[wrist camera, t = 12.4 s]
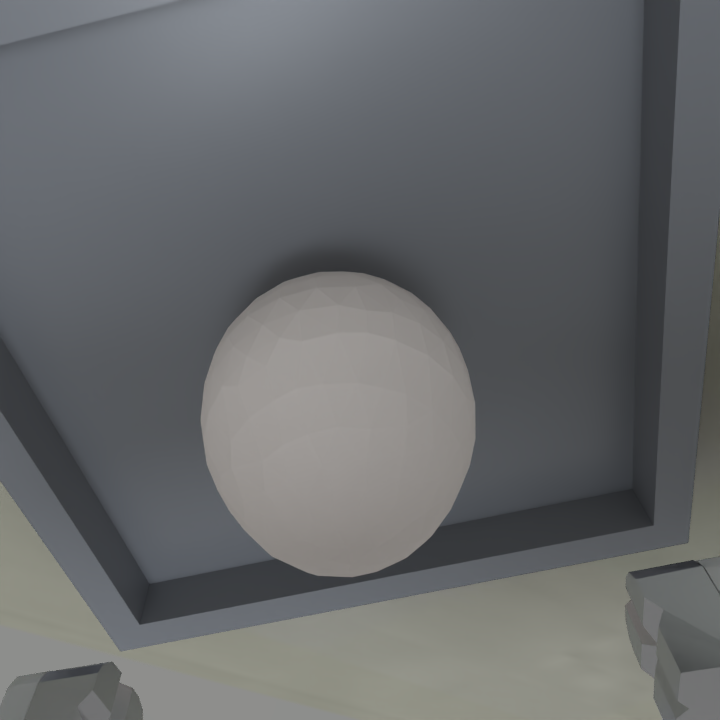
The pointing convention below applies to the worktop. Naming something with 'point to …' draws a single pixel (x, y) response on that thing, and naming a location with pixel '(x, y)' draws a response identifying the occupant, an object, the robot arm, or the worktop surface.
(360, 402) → the egg
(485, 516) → the tray
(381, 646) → the worktop surface
